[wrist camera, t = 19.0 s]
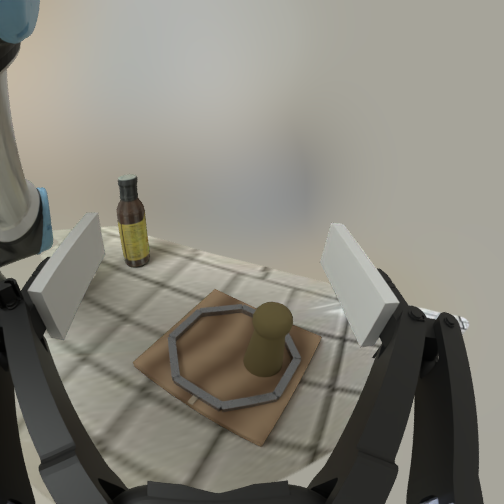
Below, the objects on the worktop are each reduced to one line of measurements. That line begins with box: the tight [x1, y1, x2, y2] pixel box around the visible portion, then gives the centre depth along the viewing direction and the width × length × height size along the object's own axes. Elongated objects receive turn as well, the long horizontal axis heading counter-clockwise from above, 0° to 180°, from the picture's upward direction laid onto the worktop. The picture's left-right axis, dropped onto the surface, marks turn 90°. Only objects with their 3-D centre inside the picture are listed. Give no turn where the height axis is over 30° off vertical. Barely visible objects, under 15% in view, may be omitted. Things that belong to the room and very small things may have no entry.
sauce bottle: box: [117, 175, 150, 267], centre depth 54 cm, size 6×6×20 cm
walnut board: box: [133, 289, 322, 447], centre depth 40 cm, size 22×22×1 cm
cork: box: [243, 302, 293, 377], centre depth 36 cm, size 6×6×11 cm
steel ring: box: [168, 304, 301, 412], centre depth 40 cm, size 19×19×1 cm
